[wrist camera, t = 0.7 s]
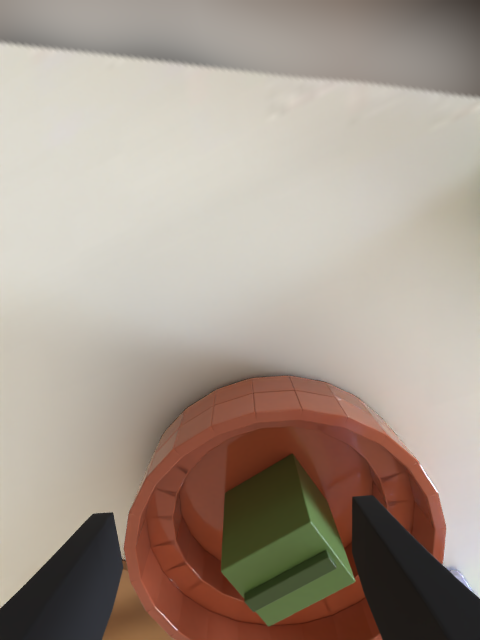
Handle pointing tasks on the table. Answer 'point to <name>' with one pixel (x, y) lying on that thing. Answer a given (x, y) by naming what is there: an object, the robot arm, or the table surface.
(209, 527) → the bowl
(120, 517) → the table surface
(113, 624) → the coaster
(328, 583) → the green grooved block
